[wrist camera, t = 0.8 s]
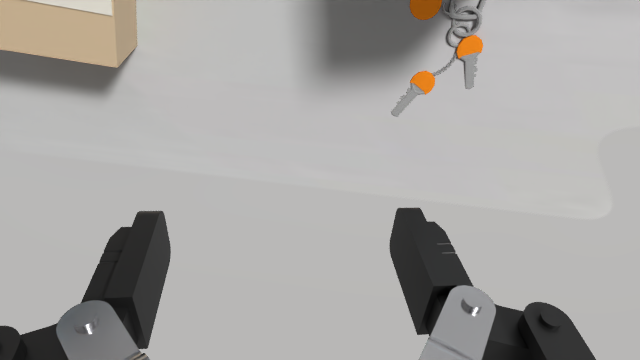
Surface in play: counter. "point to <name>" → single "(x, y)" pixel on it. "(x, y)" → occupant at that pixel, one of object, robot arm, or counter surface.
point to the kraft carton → (70, 29)
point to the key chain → (426, 6)
